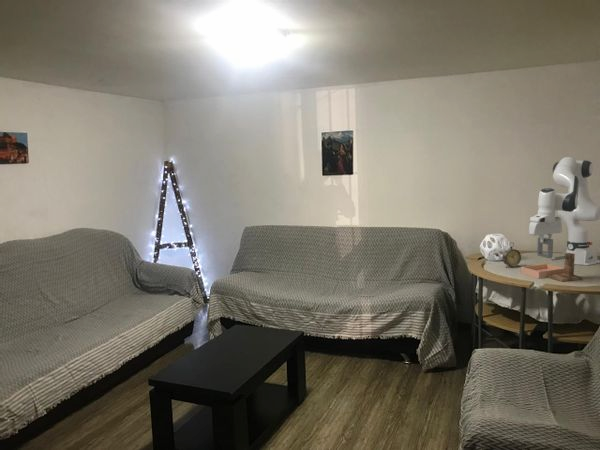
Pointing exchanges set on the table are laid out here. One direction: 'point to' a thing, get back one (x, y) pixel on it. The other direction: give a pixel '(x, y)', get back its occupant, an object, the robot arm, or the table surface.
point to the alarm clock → (511, 257)
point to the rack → (566, 269)
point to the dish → (541, 270)
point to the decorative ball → (494, 246)
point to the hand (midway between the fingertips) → (545, 241)
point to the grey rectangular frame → (550, 248)
